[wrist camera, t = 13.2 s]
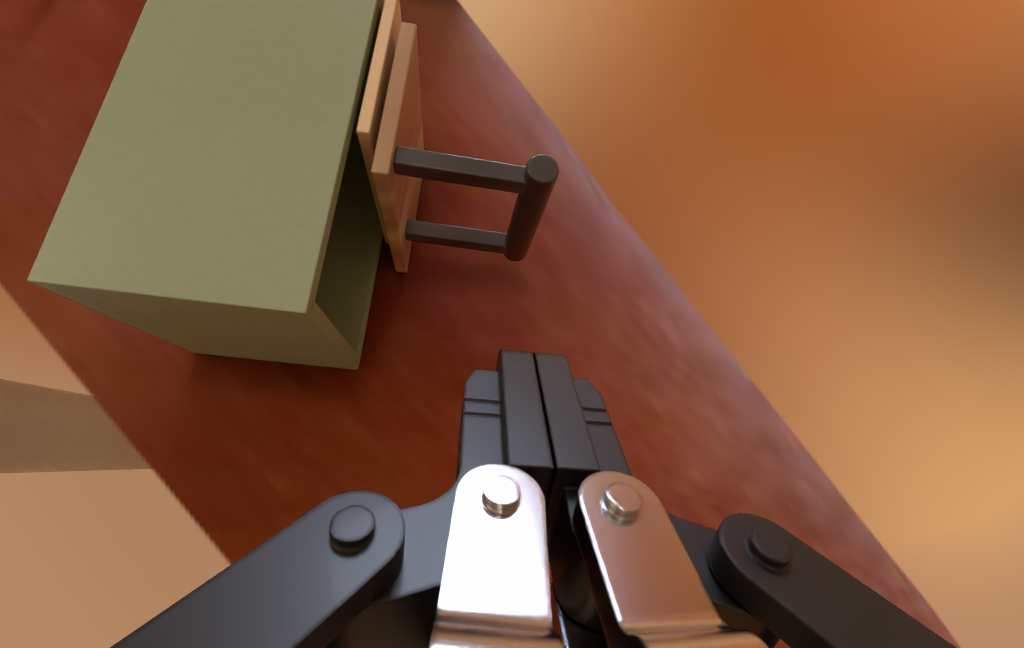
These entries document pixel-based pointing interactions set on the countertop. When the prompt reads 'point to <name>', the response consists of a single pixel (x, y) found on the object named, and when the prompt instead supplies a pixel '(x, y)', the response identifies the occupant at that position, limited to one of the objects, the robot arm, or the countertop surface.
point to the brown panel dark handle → (444, 174)
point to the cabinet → (234, 180)
